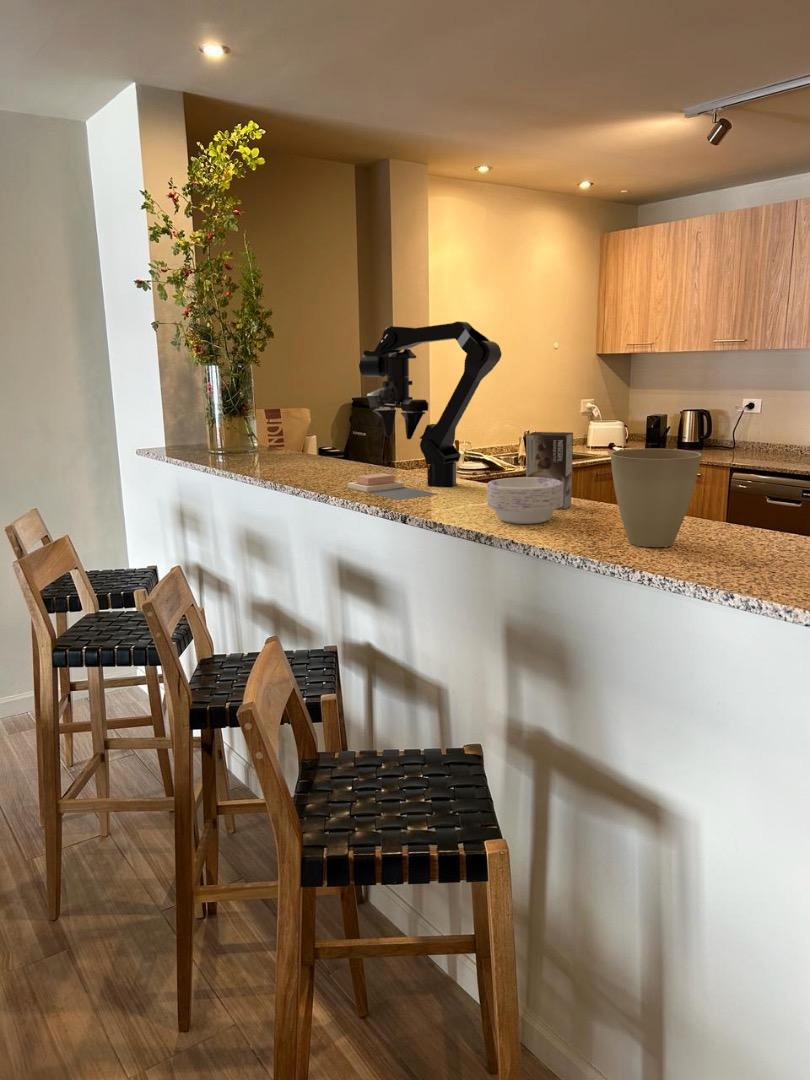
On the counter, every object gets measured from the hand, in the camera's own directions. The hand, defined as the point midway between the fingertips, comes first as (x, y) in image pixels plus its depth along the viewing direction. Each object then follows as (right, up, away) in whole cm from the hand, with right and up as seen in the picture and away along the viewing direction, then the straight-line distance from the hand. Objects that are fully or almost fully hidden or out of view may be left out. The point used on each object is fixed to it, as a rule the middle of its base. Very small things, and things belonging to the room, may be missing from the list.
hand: (398, 437), depth 204 cm
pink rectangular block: (-6, -13, -7) cm, 16 cm away
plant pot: (+45, -28, -67) cm, 85 cm away
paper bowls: (+26, -23, -46) cm, 57 cm away
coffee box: (+34, -19, -31) cm, 49 cm away
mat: (-2, -15, -12) cm, 19 cm away
